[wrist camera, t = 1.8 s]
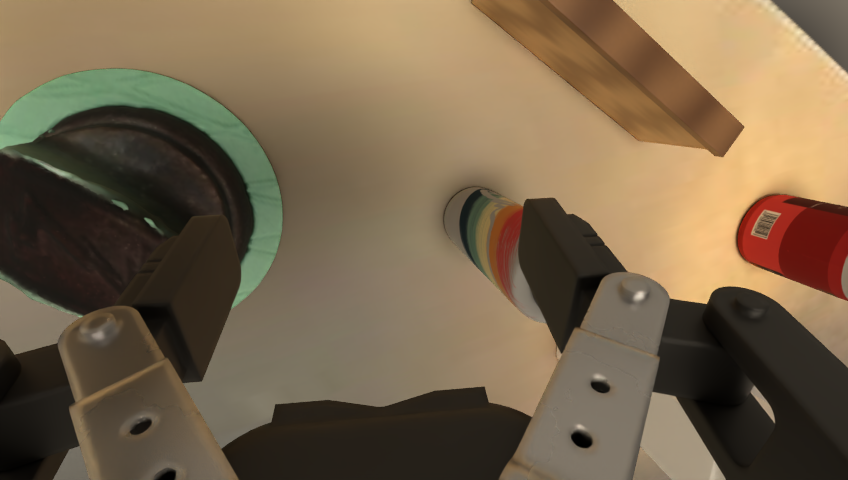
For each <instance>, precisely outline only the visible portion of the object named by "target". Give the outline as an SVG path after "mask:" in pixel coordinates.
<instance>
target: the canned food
mask: <svg viewBox="0 0 848 480" xmlns="http://www.w3.org/2000/svg"><path fill="white" fill-rule="evenodd" d="M738 248H739V251H740V253H741V255H742V256H743V257H744V258H745V259H746V260H747V261H748V262H750V263H751V264H753V265H754V266H757V267H759V268H762V269H764V270H767V271H770V272H772V273H775V274H778V275H780V276H783V277H785V278H788V279H791V280H793V281H796V282H799V283H801V284H804V285H807V286H809V287H812V288H814V289H817V290H820V291H822V292H825V293H828V294H830V295H833V296H835V297H838V298H841V299H844V300H847V301H848V207H845V206H840V205H835V204H830V203H825V202H820V201H815V200H810V199H804V198H799V197H794V196H789V195H773V196H769V197H766V198H763V199H761V200H760V201H758V202H757V203H756V204H755V205H754V206H753V207H752V208H751V209H750V210H749V211H748V212H747V214H746V215H745V217H744V219H743V220H742V223H741V225H740V228H739V232H738Z"/></svg>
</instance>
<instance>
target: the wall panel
mask: <svg viewBox="0 0 848 480" xmlns="http://www.w3.org/2000/svg"><path fill="white" fill-rule="evenodd" d="M472 3H473V4H474V5H475V6H476V7H477V8H479V9H480V10H481V11H482V12H483V13H485V14H486V15H487V16H488V17H490V18H491V19H492V20H493V21H494V22H496V23H497V24H498V25H499V26H500V27H502V28H503V29H504V30H505V31H507V32H508V33H509V34H510V35H511V36H513V37H514V38H515V39H516V40H517V41H519V42H520V43H521V44H522V45H524V46H525V47H526V48H527V49H528V50H530V51H531V52H532V53H533V54H534V55H536V56H537V57H538V58H539V59H541V60H542V61H543V62H544V63H545V64H547V65H548V66H549V67H550V68H551V69H553V70H554V71H555V72H556V73H558V74H559V75H560V76H561V77H562V78H564V79H565V80H566V81H567V82H568V83H570V84H571V85H572V86H573V87H575V88H576V89H577V90H578V91H579V92H581V93H582V94H583V95H584V96H585V97H587V98H588V99H589V100H590V101H592V102H593V103H594V104H595V105H596V106H598V107H599V108H600V109H601V110H602V111H604V112H605V113H606V114H607V115H609V116H610V117H611V118H612V119H613V120H615V121H616V122H617V123H618V124H619V125H621V126H622V127H623V128H624V129H626V130H627V131H628V132H629V133H630V134H632V135H633V136H634V137H635V138H636V139H638V140H639V141H644V142H652V143H660V144H669V145H677V146H685V147H693V148H701V149H707V150H709V151H710V152H711V153H712V154H713V155H714V156H719V157H724V155H725V154H726V152H727V151H728V150H729V148H730V147H731V145H732V144H733V143H734V141H735V140H736V138H737V137H738V136H739V134H740V133H741V131H742V130H743V129H744V126H743V125H742V124H741V123H740V122H739V121H738V120H737V119H736V118H735V117H734V116H733V115H732V114H731V113H730V112H729V111H728V110H726V109H725V108H724V107H723V106H722V105H721V104H720V103H719V102H718V101H717V100H716V99H715V98H714V97H713V96H712V95H711V94H710V93H709V92H708V91H707V90H706V89H705V88H704V87H702V86H701V85H700V84H699V83H698V82H697V81H696V80H695V79H694V78H693V77H692V76H691V75H690V74H689V73H688V72H687V71H686V70H685V69H684V68H683V67H682V66H681V65H680V64H679V63H677V62H676V61H675V60H674V59H673V58H672V57H671V56H670V55H669V54H668V53H667V52H666V51H665V50H664V49H663V48H662V47H661V46H660V45H659V44H658V43H657V42H656V41H655V40H653V39H652V38H651V37H650V36H649V35H648V34H647V33H646V32H645V31H644V30H643V29H642V28H641V27H640V26H639V25H638V24H637V23H636V22H635V21H634V20H633V19H632V18H631V17H629V16H628V15H627V14H626V13H625V12H624V11H623V10H622V9H621V8H620V7H619V6H618V5H617V4H616V3H615V2H614V1H613V0H472Z"/></svg>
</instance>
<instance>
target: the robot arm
mask: <svg viewBox="0 0 848 480" xmlns="http://www.w3.org/2000/svg"><path fill="white" fill-rule="evenodd" d="M518 258H519V264H520V268H521V270H522V272H523V274H524V276H525V279H526V281H527V283H528V285H529V287H530V289H531V291H532V293H533V296H534V298H535V300H536V302H537V304H538V306H539V308H540V310H541V312H542V315H543V317H544V319H545V321H546V323H547V325H548V327H549V329H550V332H551V334H552V336H553V338H554V340H555V342H556V344H557V346H558V349H559V351H560V353H561V354H562V355H561V357H560V360H559V362H558V364H557V366H556V368H555V370H554V372H553V374H552V376H551V379H550V381H549V383H548V385H547V387H546V389H545V391H544V393H543V396H542V398H541V400H540V402H539V404H538V406H537V408H536V410H535V412H534V415H533V417H531V416H528V415H526V414H524V413H522V412H520V411H518V410H515V409H512V408H510V407H506V406H502V405H498V404H493V403H489V402H488V398H487V395H486V391H485V387H475V388H463V389H452V390H440V391H433V392H430V393H426V394H423V395H420V396H417V397H414V398H411V399H408V400H404V401H401V402H398V403H395V404H392V405H389V406H385V407H374V406H367V405H360V404H353V403H346V402H338V401H331V400H323V401H311V402H300V403H288V404H276V405H275V409H274V413H273V418H272V422H271V423H268V424H265V425H262V426H260V427H258V428H255V429H253V430H251V431H249V432H247V433H245V434H243V435H242V436H240V437H238V438H237V439H235V440H233V441H232V442H230V443H229V444H227V445H226V446H225V447H223V448H222V449H221V448H220V446H219V445H218V443H217V441H216V440H215V438H214V436H213V434H212V433H211V431H210V429H209V428H208V426H207V424H206V422H205V421H204V419H203V417H202V416H201V414H200V412H199V410H198V409H197V407H196V405H195V404H194V402H193V400H192V398H191V397H190V395H189V393H188V392H187V390H186V388H185V386H184V385H183V383H188V382H200V381H202V380H203V377H204V375H205V372H206V370H207V367H208V365H209V362H210V360H211V357H212V355H213V352H214V350H215V347H216V345H217V342H218V340H219V337H220V335H221V332H222V330H223V327H224V325H225V322H226V320H227V317H228V315H229V312H230V310H231V307H232V305H233V302H234V300H235V297H236V295H237V292H238V290H239V287H240V284H241V265H240V261H239V257H238V254H237V250H236V247H235V243H234V240H233V236H232V233H231V229H230V226H229V222H228V220H227V218H226V217H225V216H224V215H207V216H193V217H191V218H190V220H189V221H188V223H187V224H186V226H185V227H184V229H183V230H182V231H181V233H180V234H179V236H172V237H170V238H169V239H168V240H166V241H165V242H163V243H162V244H160V245H159V246H158V247H156V248H155V250H154V251H153V252H152V254H151V255H150V256H149V258H148V259H147V260H146V261H147V263H144V264H143V266H142V267H141V269H140V270H139V274H136V275H135V277H134V278H133V279H132V281H131V282H130V283H129V285H128V286H127V288H126V289H125V290H124V292H123V293H122V294H121V296H120V297H119V298H118V300H117V301H116V302H115V304H114V305H113V306H112V307H107V308H103V309H99V310H96V311H94V312H91V313H89V314H87V315H85V316H83V317H81V318H79V319H78V320H76V321H75V322H73V323H72V324H71V325H69V326H68V327H67V328H66V329H65V330H64V331H63V333H62V334H61V335H60V337H59V339H58V343H57V344H53V345H50V346H46V347H42V348H38V349H35V350H31V351H27V352H23V353H20V354H16V355H14V354H13V352H12V351H11V349H10V348H9V347H8V345H7V344H6V343H5V341H3V340H1V339H0V480H53V478H54V476H55V474H56V473H57V471H58V469H59V467H60V465H61V463H62V462H63V460H64V458H65V456H66V454H67V452H68V451H69V449H72V448H75V447H77V446H80V449H81V452H82V455H83V459H84V462H85V465H86V469H87V472H88V475H89V479H90V480H632V479H633V475H634V471H635V466H636V462H637V457H638V453H639V449H640V444H641V440H642V435H643V431H644V427H645V422H646V418H647V414H648V409H649V405H650V400H651V396H652V392H656V393H661V394H666V395H672V396H675V397H676V398H677V400H678V402H679V403H680V405H681V407H682V408H683V410H684V412H685V413H686V415H687V416H688V418H689V420H690V421H691V423H692V425H693V426H694V428H695V430H696V431H697V433H698V434H699V436H700V438H701V439H702V441H703V443H704V444H705V446H706V448H707V449H708V451H709V452H710V454H711V456H712V457H713V459H714V461H715V462H716V464H717V466H718V467H719V469H720V470H721V472H722V474H723V475H724V477H725V479H726V480H848V368H847V367H846V366H845V365H844V364H843V363H842V362H841V361H840V360H839V359H838V358H837V357H836V356H835V355H834V354H832V353H831V352H830V351H829V350H828V349H827V348H826V347H825V346H824V345H823V344H822V343H821V342H820V341H819V340H817V339H816V338H815V337H814V336H813V335H812V334H811V333H810V332H809V331H808V330H807V329H806V328H805V327H804V326H803V325H801V324H800V323H799V322H798V321H797V320H796V319H795V318H794V317H793V316H792V315H791V314H790V313H789V312H788V311H787V310H785V309H784V308H783V307H782V306H781V305H780V304H779V303H777V302H776V301H774V300H773V299H771V298H769V297H767V296H765V295H763V294H761V293H759V292H756V291H753V290H749V289H746V288H741V287H722V288H718V289H716V290H715V291H713V293H712V294H711V296H710V299H709V301H708V303H707V304H702V303H695V302H688V301H681V300H675V299H670V298H669V295H668V293H667V291H666V290H665V289H664V288H663V287H662V286H661V285H660V284H658V283H657V282H656V281H654V280H652V279H650V278H648V277H645V276H642V275H639V274H635V273H629V272H627V271H626V269H625V268H624V267H623V266H622V264H621V263H620V262H619V261H618V259H617V258H616V257H615V256H614V254H613V253H612V252H611V251H610V249H609V248H608V247H607V246H605V245H604V242H603V241H602V239H601V238H600V237H599V236H597V233H596V232H595V231H594V229H593V228H592V227H591V226H590V224H589V223H587V222H586V221H584V220H582V219H581V218H579V217H577V216H576V215H574V214H566V212H565V211H564V210H563V208H562V207H561V206H560V204H559V203H558V202H557V200H556V199H555V198H539V199H527V200H526V201H525V203H524V206H523V213H522V221H521V229H520V237H519V245H518ZM754 386H755V387H756V388H757V389H758V391H759V392H760V393H761V394H762V396H763V397H764V398H765V399H766V400H767V402H768V403H769V405H770V407H771V409H772V411H773V414H774V418H775V423H774V422H773V420H772V419H771V418H770V416H769V415H768V414H767V413H766V411H765V410H764V409H763V408H762V406H761V405H760V404H759V402H758V401H757V400H756V399H755V397H754V396H753V395H752V394H751V390H752V388H753V387H754Z"/></svg>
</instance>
